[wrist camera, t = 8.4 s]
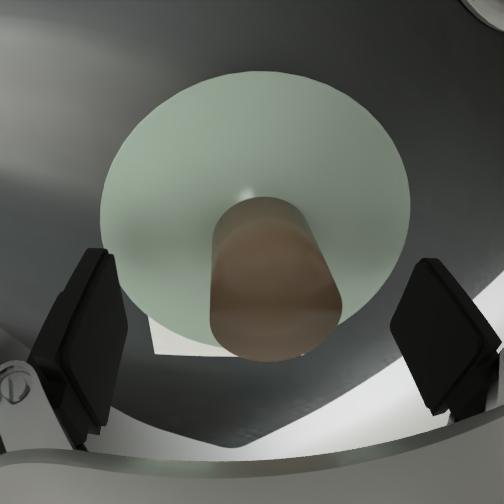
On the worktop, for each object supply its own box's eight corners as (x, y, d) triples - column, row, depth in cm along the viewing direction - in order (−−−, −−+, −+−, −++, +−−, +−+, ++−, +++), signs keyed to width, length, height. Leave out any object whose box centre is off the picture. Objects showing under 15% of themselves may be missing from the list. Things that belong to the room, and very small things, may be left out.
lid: (425, 100, 10) (517, 136, 6) (358, 330, 17) (389, 406, 12) (97, 73, 9) (17, 90, 5) (130, 331, 15) (112, 416, 11)
